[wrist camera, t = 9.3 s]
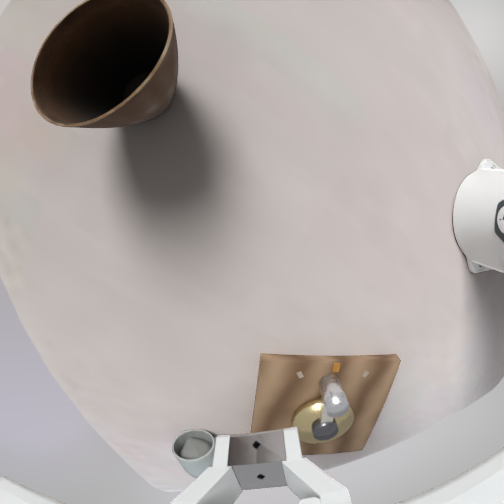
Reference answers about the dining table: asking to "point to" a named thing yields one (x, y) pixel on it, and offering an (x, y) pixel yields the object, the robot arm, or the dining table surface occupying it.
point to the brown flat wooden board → (306, 387)
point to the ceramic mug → (194, 451)
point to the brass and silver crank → (324, 413)
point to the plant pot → (107, 65)
